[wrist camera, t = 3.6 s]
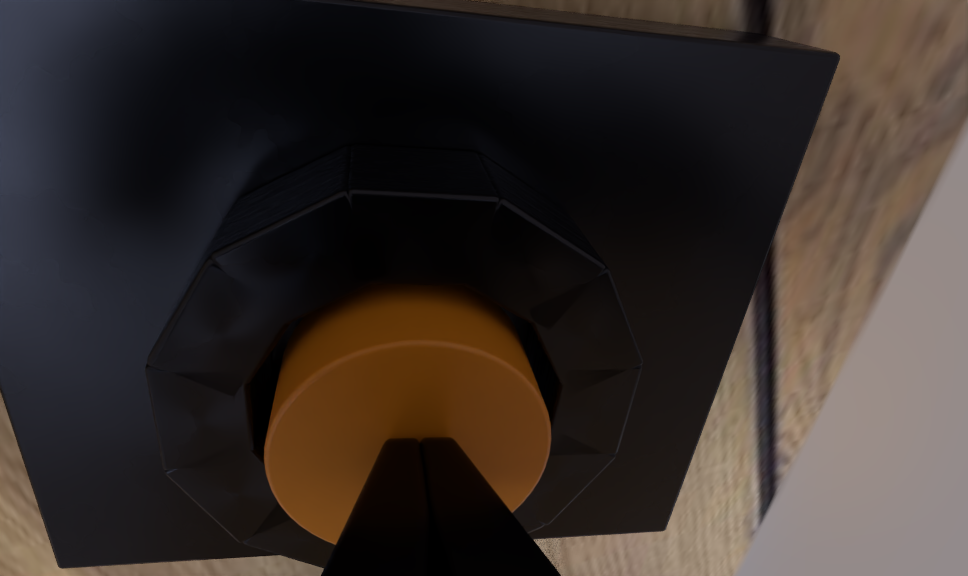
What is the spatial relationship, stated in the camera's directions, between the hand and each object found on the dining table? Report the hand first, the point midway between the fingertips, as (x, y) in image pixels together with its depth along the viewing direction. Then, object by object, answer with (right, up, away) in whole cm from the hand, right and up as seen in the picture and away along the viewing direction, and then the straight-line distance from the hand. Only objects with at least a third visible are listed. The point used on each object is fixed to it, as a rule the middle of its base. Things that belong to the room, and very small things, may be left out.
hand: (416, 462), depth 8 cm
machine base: (-1, +2, +4) cm, 5 cm away
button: (0, +1, +1) cm, 2 cm away
